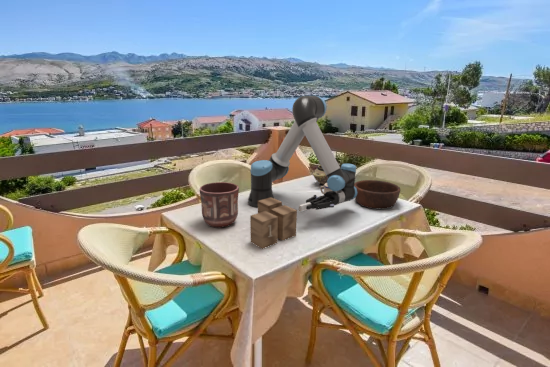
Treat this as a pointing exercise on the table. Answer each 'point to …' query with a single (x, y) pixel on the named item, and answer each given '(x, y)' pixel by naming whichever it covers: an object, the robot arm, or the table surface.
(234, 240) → the table surface
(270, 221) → the walnut block marked 1
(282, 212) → the brown wooden block
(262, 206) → the walnut block marked 2
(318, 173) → the ceramic bowl
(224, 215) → the pottery
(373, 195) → the wooden bowl
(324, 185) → the teacup with lid
